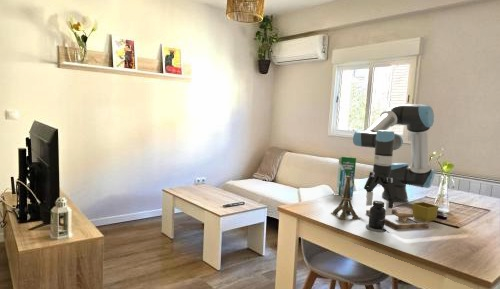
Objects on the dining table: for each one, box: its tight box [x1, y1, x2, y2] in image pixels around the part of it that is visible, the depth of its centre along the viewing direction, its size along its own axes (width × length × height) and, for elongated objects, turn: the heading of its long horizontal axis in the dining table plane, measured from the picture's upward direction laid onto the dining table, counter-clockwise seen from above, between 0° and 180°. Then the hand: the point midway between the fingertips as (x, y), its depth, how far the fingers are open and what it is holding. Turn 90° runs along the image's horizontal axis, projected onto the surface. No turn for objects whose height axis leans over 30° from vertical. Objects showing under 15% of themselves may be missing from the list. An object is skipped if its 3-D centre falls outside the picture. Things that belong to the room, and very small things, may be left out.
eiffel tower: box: [330, 174, 361, 221], centre depth 165 cm, size 11×11×25 cm
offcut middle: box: [397, 217, 408, 224], centre depth 160 cm, size 4×7×2 cm, turn 150°
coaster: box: [365, 223, 388, 233], centre depth 150 cm, size 9×9×1 cm
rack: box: [365, 208, 430, 231], centre depth 159 cm, size 18×22×4 cm
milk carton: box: [335, 155, 357, 197], centre depth 214 cm, size 9×9×25 cm
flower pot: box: [411, 201, 439, 223], centre depth 164 cm, size 9×9×9 cm
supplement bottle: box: [367, 200, 386, 229], centre depth 150 cm, size 7×7×12 cm
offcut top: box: [394, 210, 414, 219], centre depth 160 cm, size 4×8×2 cm, turn 93°
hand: (378, 209), depth 150 cm, fingers open, 13 cm apart
